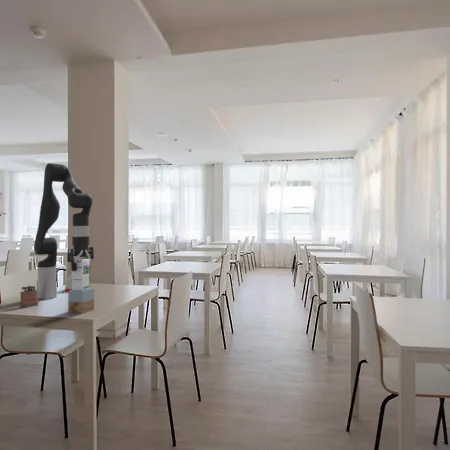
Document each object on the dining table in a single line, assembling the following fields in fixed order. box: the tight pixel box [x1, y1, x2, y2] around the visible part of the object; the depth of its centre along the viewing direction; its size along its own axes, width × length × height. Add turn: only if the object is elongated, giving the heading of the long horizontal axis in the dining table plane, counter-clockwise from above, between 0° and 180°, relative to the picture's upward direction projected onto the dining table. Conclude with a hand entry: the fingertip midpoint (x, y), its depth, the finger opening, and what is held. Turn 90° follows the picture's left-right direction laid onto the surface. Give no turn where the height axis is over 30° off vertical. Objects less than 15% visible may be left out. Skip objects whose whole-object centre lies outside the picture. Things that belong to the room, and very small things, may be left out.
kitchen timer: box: [64, 272, 72, 292], centre depth 227 cm, size 14×14×15 cm
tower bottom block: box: [67, 298, 95, 314], centre depth 173 cm, size 8×8×5 cm
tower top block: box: [67, 287, 95, 303], centre depth 172 cm, size 8×8×5 cm
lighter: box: [19, 285, 39, 308], centre depth 183 cm, size 8×3×10 cm, turn 134°
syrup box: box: [71, 257, 91, 291], centre depth 172 cm, size 6×6×14 cm
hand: (81, 269), depth 172 cm, fingers open, 8 cm apart
